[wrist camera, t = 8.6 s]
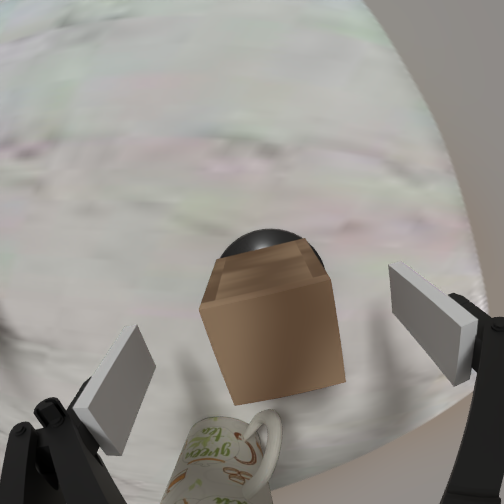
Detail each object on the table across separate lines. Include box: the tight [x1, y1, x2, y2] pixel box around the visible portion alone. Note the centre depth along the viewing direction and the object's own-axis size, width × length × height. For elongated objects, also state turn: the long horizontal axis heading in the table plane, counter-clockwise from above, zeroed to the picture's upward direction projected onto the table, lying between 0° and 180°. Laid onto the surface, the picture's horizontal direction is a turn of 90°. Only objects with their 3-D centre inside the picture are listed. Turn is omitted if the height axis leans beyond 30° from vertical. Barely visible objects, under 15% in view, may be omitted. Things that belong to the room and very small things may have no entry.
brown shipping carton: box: [199, 238, 346, 406], centre depth 16 cm, size 5×5×7 cm
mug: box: [160, 409, 282, 504], centre depth 19 cm, size 8×13×10 cm, turn 154°
